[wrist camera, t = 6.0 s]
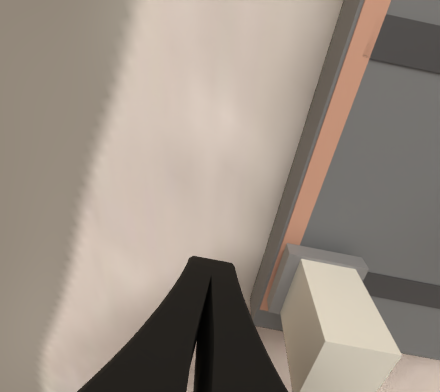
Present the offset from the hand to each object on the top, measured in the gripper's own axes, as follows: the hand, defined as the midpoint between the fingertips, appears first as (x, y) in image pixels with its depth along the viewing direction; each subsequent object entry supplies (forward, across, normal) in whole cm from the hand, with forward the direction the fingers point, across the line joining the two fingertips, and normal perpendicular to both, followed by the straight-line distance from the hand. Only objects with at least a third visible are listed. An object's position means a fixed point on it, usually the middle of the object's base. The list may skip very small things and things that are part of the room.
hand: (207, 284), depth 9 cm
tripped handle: (+1, -4, 0) cm, 4 cm away
